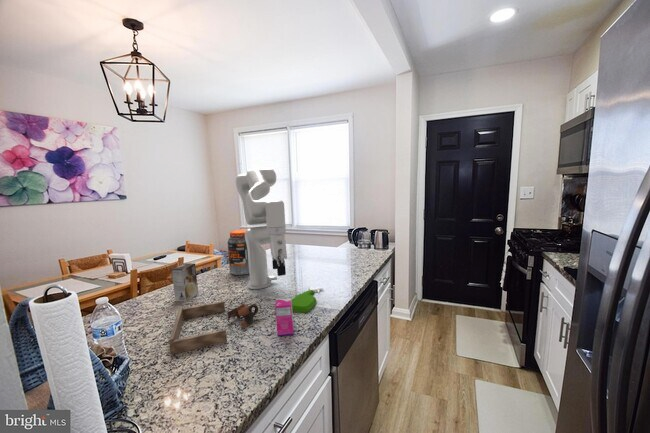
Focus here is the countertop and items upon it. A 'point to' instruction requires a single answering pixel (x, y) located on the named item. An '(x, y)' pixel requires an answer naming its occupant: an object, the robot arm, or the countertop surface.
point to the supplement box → (284, 317)
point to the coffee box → (185, 281)
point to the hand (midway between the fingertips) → (279, 271)
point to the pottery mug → (244, 314)
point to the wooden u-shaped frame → (197, 340)
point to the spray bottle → (305, 300)
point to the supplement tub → (238, 253)
